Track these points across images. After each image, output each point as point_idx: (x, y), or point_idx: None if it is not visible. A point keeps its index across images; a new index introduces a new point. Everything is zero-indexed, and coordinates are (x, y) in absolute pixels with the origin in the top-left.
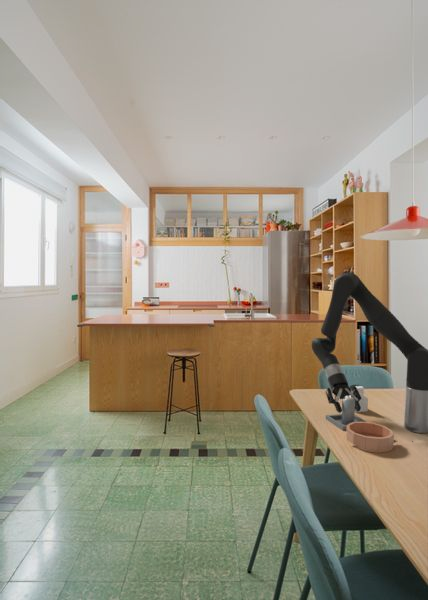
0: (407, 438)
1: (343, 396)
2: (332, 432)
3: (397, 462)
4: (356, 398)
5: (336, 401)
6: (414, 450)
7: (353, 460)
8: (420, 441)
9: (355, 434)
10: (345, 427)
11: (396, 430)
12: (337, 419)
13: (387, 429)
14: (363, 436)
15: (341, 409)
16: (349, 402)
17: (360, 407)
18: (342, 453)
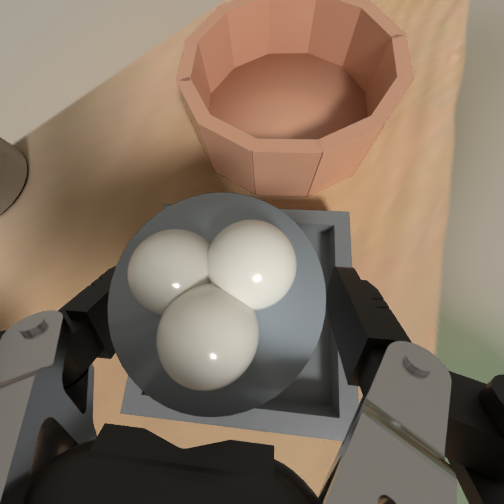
0: (107, 123)
1: (230, 446)
2: (386, 243)
3: None
4: (16, 342)
5: (421, 352)
6: (175, 53)
7: (426, 32)
8: (89, 97)
9: (399, 32)
10: (328, 214)
11: (71, 192)
12: None
13: (196, 51)
14: (375, 6)
15: (341, 269)
16: (266, 209)
17: (112, 269)
18: (442, 71)
